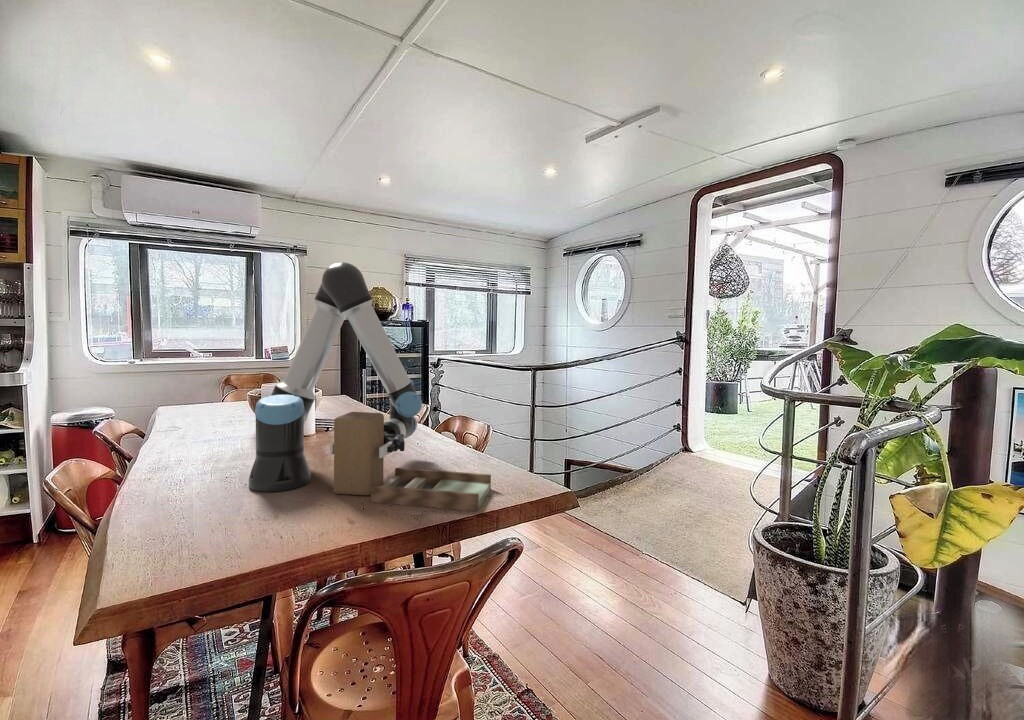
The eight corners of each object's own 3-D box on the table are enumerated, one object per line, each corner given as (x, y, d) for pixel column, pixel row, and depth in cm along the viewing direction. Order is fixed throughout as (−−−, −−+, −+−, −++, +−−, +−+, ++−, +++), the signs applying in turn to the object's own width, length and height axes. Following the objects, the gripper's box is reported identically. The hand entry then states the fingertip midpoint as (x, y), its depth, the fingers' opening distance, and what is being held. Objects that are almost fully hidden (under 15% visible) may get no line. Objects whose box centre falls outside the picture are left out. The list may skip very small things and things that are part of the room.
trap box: (370, 502, 113) (370, 486, 113) (396, 481, 129) (396, 467, 128) (477, 511, 109) (477, 494, 109) (490, 488, 125) (491, 474, 124)
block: (384, 484, 126) (385, 412, 125) (369, 497, 116) (370, 419, 115) (349, 482, 127) (350, 411, 126) (332, 494, 117) (332, 417, 116)
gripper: (428, 448, 138) (401, 468, 117) (350, 443, 142) (311, 462, 121) (428, 423, 138) (401, 439, 117) (350, 419, 141) (311, 434, 120)
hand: (355, 451), depth 119 cm, fingers open, 13 cm apart
